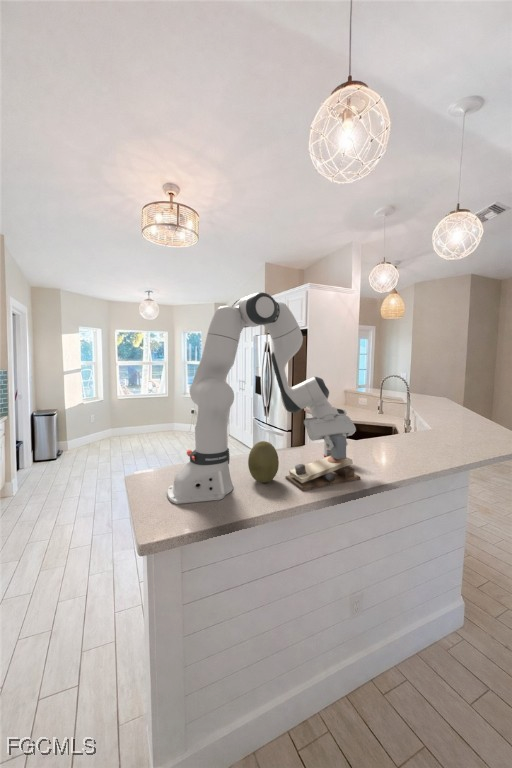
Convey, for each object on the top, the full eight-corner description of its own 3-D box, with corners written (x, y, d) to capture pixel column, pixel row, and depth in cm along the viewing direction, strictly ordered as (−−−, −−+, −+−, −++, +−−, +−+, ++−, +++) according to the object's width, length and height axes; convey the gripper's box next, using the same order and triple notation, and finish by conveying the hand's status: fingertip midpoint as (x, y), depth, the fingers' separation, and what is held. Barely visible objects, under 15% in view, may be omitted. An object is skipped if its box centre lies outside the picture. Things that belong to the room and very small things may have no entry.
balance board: (302, 483, 111) (300, 472, 110) (289, 474, 119) (288, 464, 118) (352, 463, 118) (351, 453, 118) (337, 456, 127) (336, 447, 126)
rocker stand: (301, 490, 109) (301, 479, 109) (285, 478, 120) (285, 468, 120) (360, 479, 118) (360, 468, 118) (340, 468, 129) (340, 459, 129)
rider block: (337, 459, 119) (337, 438, 118) (330, 456, 122) (330, 436, 122) (346, 458, 120) (346, 437, 119) (339, 455, 124) (339, 434, 123)
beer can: (322, 460, 140) (322, 424, 138) (326, 456, 145) (326, 421, 144) (336, 462, 137) (336, 426, 135) (340, 458, 142) (340, 423, 141)
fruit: (244, 478, 121) (243, 439, 120) (271, 473, 125) (271, 436, 124) (254, 489, 110) (254, 447, 109) (284, 484, 114) (283, 443, 113)
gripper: (305, 414, 122) (319, 445, 114) (348, 409, 130) (365, 439, 122) (299, 423, 127) (312, 454, 119) (341, 418, 134) (357, 447, 126)
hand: (339, 446), depth 120 cm, fingers closed on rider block, 4 cm apart
